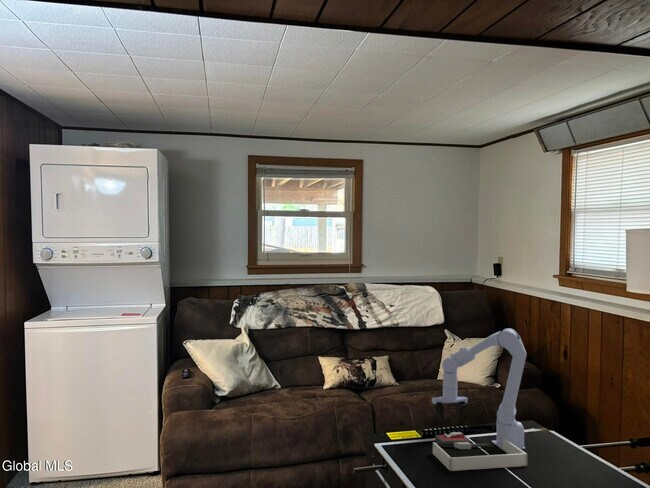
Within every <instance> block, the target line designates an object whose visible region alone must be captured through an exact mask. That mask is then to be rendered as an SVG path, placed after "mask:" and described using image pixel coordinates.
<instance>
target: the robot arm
mask: <svg viewBox="0 0 650 488" xmlns="http://www.w3.org/2000/svg"><path fill="white" fill-rule="evenodd" d="M500 346H501V347H503V348H504V349H505V350H507V351H508V353H509V354H510V355H511V356H512V359H511V364H510V368H509V371H508V372H509V373H508V376H507V377H508V378H507V381H506V384H505V385H506V386H505V390H504V394H503V397H502V401H501V403H500V405H499V407H498V410H497V411H496V438H495V439H496V440H491V443H492V444H494V445H496V447H498V448H499V449H501V450H502V451H504V448H503V439H506V440H508V441H509V442H511V443H512V444H513V445H515V446H516V447H518V448H519V449H521V450H523V449H526V447H525V429H524V426H523V424H522V423H521V422H520V421H517V420H516V414H517V408H516V403H517V400H518V399H517V397H518V393H519V389H520V385H521V381H522V376H523V373H524V367H525V364H526V359H527V351H526V349H525V346H524V343H523V341H522V338H521V336H520V335H519V333H518V332H517V331H516V330H515V329H513V328H509V327H508V328H504V329H503V330H502V331H501V330H500V331H497V332H495V333H493V334H491V335H489V336H487V337H486V338H484V339H483V340H480V341H479V342H478V343H476V344H475V345H473V346H472V347H468V346H462V347H460V348H459V350H458V351H456V352H454V353H453V352H452V353H450V354H449V356H447V357H445V359H443V361H442V363H441V367H442V369H443V375H442V396H438V397H436V396H435V397H432V398H431V404H433V406H434V408H435V410H436V414H437V417H438V422H440V423H443V421H444V409H445V406H444V404H455V409H456V410H455V420H456V421H457V422H461V420H462V417H463V414H464V411H465V409H466V408H467V404H468V400H469V399H468V397H466V396H458V380H459V379H458V377H459V375H458V369H459V368H462V367H463V366H465V365H467V364H469V363H471V362H472V361H474V360H475V358H476V355H478V354H480V353H481V352H483V351H485V350H487V349H489V348H490V347H500Z"/></svg>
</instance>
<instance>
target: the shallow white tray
mask: <svg viewBox="0 0 650 488" xmlns="http://www.w3.org/2000/svg"><path fill="white" fill-rule="evenodd" d="M503 448H504V450H503V451H504V452H505V454H503V453H502V454H491V455H490V454H489V455H488V454H487V455H485V454H484V455H473V456H469V455H468V456H456V457H455V456H454V457H451V456H450V455H449V454H448V453H447V452H446V451H445V450H444V448H441V447H440V446H438V444H437V443H436V442H435V441H434V442H432V455H433V456H435V458H436V459H438V460H439V461H440V463H441V464H443V466H444V467H446V468H447V470H449V471H450V472H456V471H457V472H458V471H468V470H482V469H483V470H485V469H487V470H488V469H497V468H499V469H500V468H502V469H503V468H513V467H514V468H515V467H516V468H517V467H528V453H527V452H525V451H524V450H523V449H519V448H518V447H516V446H515V445H513V444H512V443H511V442H509V441H508V440H506V439H503Z"/></svg>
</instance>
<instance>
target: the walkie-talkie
mask: <svg viewBox="0 0 650 488" xmlns="http://www.w3.org/2000/svg"><path fill="white" fill-rule="evenodd" d="M434 437H435V439H434V442H435V441H436V442H435V443H436V444H437V445H438V446H440V447H450V448H454V447H455V448H454V449H457V448H458V450H471V449H472V448H474V447H475V448H478V447H479V448H480V447H487V446H491V445H490V443H489V442H488V443H470V439H469V438H468V437H467V436H466V435H465V434H464V433H462V432H461V431H457V432H456V431H453V432H450V433H449V434H447V433H445V432H444V433H443V434H435V436H434Z"/></svg>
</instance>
